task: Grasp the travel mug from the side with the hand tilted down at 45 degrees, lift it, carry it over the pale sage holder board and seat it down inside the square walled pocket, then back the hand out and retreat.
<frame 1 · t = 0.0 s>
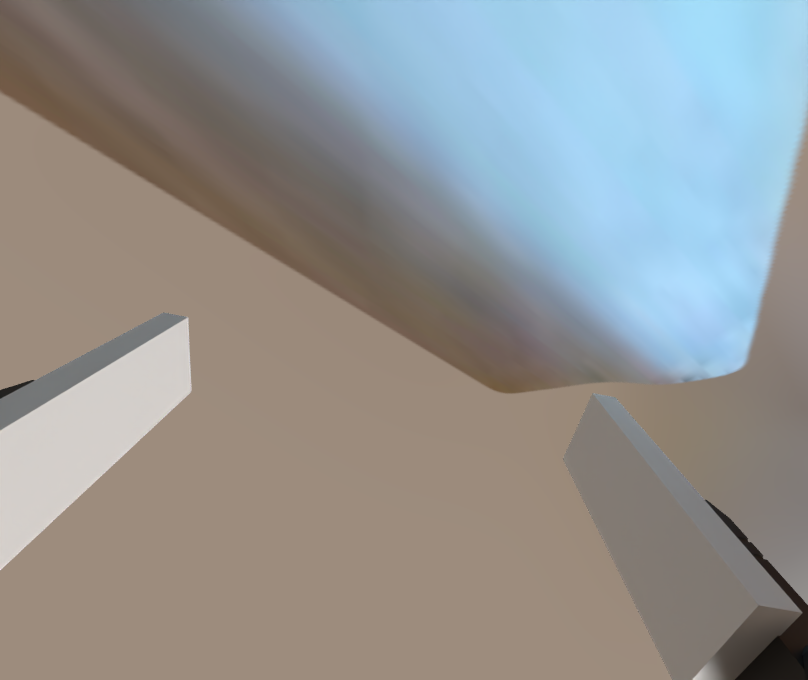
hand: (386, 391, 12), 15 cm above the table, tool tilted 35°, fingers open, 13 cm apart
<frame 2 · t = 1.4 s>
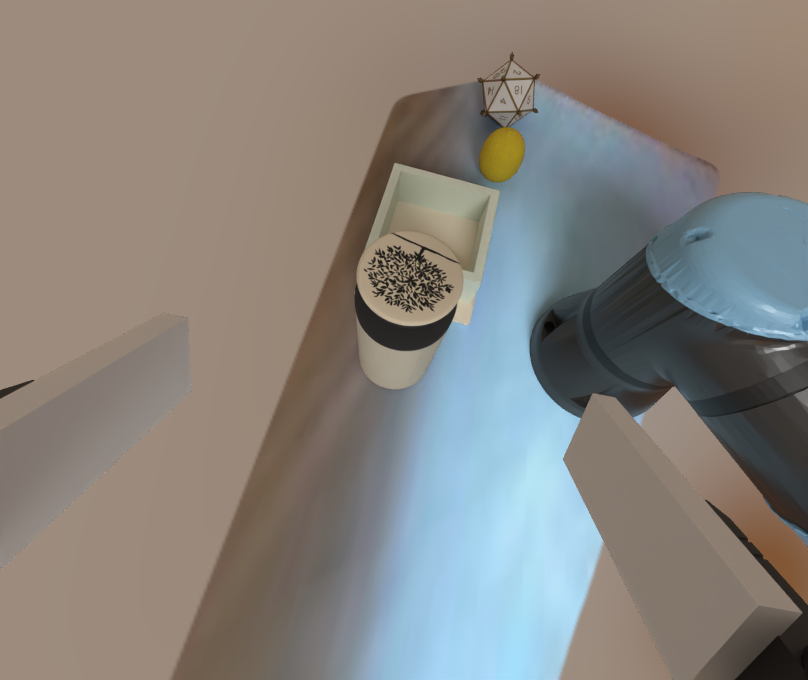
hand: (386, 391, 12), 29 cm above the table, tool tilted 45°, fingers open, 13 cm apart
lemon: (491, 180, 54), on the table
holder: (428, 248, 48), on the table
game die: (498, 121, 58), on the table
travel mug: (394, 356, 43), on the table
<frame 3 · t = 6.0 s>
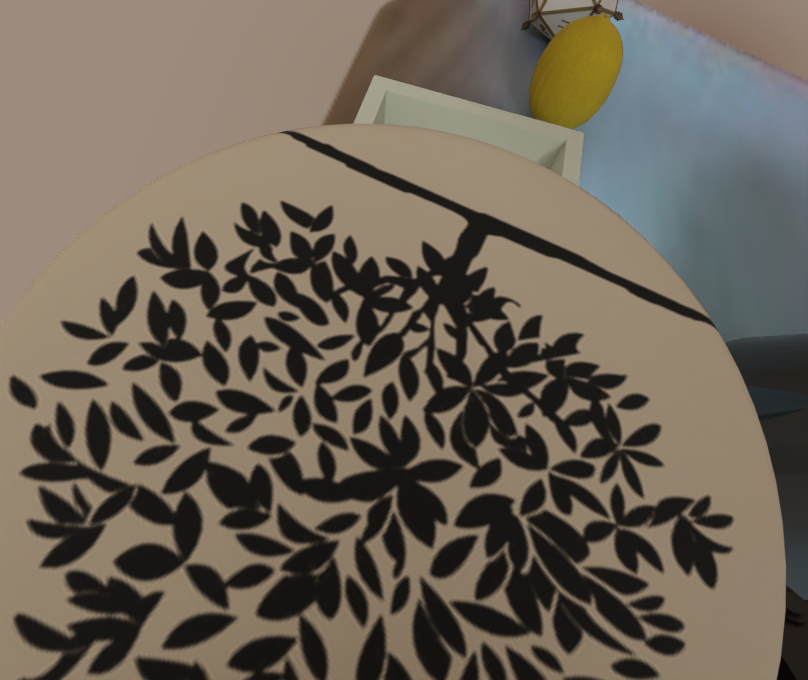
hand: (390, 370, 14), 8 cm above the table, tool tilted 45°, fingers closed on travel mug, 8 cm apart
lemon: (545, 131, 31), on the table
holder: (438, 248, 26), on the table
game die: (550, 42, 35), on the table
travel mug: (368, 473, 20), on the table, touching gripper
when the fingers open (11 cm above the table, at t = 11.6 s): travel mug drops 2 cm, resting on holder.
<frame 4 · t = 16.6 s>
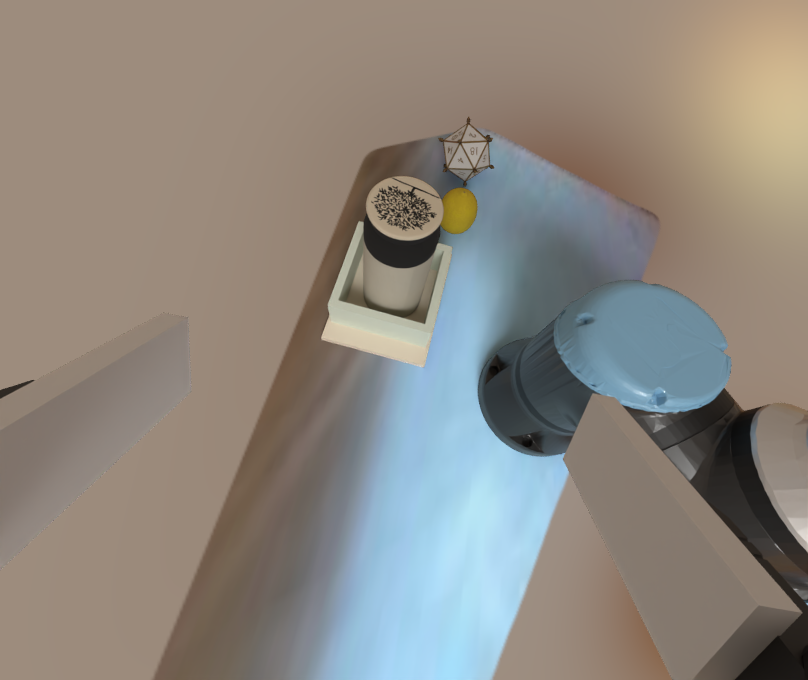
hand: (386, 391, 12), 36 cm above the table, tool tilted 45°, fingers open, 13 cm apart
lemon: (451, 229, 59), on the table
holder: (390, 295, 54), on the table
game die: (460, 173, 63), on the table
travel mug: (392, 295, 53), point 1 cm above the table, touching holder
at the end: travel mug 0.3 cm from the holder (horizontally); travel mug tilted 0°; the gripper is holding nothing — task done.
